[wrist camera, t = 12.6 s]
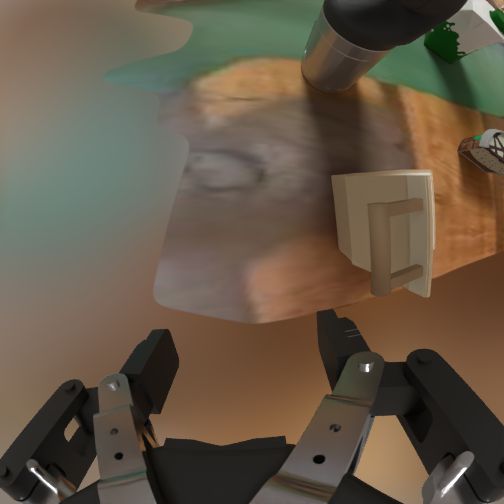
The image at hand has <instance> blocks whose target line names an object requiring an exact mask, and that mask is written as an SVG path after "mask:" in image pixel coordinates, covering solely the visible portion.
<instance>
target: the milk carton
mask: <svg viewBox="0 0 504 504" xmlns="http://www.w3.org/2000/svg"><path fill="white" fill-rule="evenodd" d="M494 43H504V12H502V11H501V10H500V9H496V10H495V9H494V8H493V7H492V6H491V5H490V4H489V3H488V2H487V1H486V0H468V1H467V2H466V4H465V5H464V6H463V7H462V8H461V9H460V10H459V11H458V12H457V13H456V14H455V15H453V16H452V17H451V18H450V19H448V20H446V21H445V22H443V23H442V24H440V25H438V26H437V27H435V28H433V29H432V30H430V31H428V32H427V33H426V35H425V41H424V45H426V46H427V47H428V48H430V49H431V50H433V51H434V52H435V53H437V54H438V55H439V56H441V57H442V58H443V59H444V60H446V61H447V62H448V63H450V64H452V63H453V62H455V61H457V60H459V59H461V58H462V57H464V56H466V55H468V54H470V53H472V52H474V51H476V50H479V49H481V48H483V47H485V46H488V45H490V44H494Z"/></svg>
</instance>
